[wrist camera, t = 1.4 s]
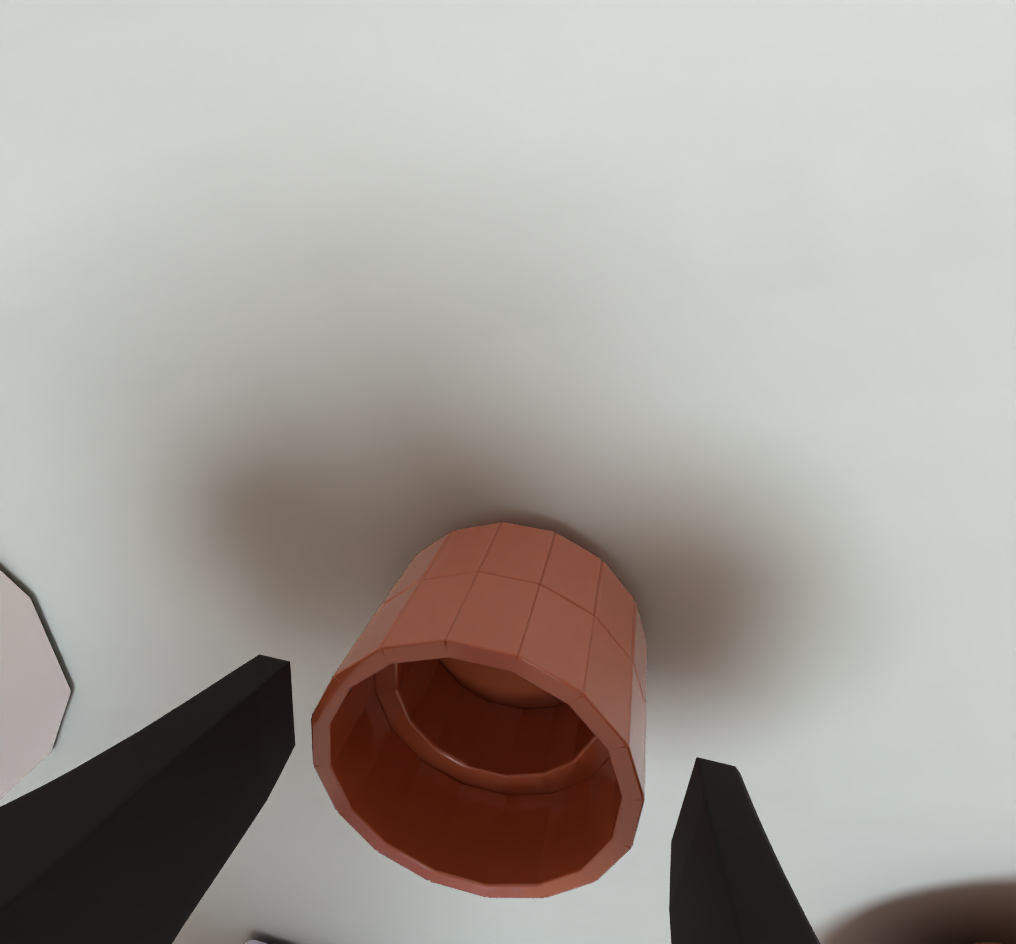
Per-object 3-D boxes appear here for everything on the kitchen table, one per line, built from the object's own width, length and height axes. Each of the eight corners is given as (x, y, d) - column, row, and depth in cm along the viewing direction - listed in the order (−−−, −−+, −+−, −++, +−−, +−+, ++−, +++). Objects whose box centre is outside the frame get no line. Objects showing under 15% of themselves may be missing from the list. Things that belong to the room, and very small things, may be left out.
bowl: (621, 742, 15) (610, 934, 11) (399, 690, 16) (315, 849, 12) (668, 539, 13) (673, 689, 9) (406, 491, 14) (305, 609, 10)
